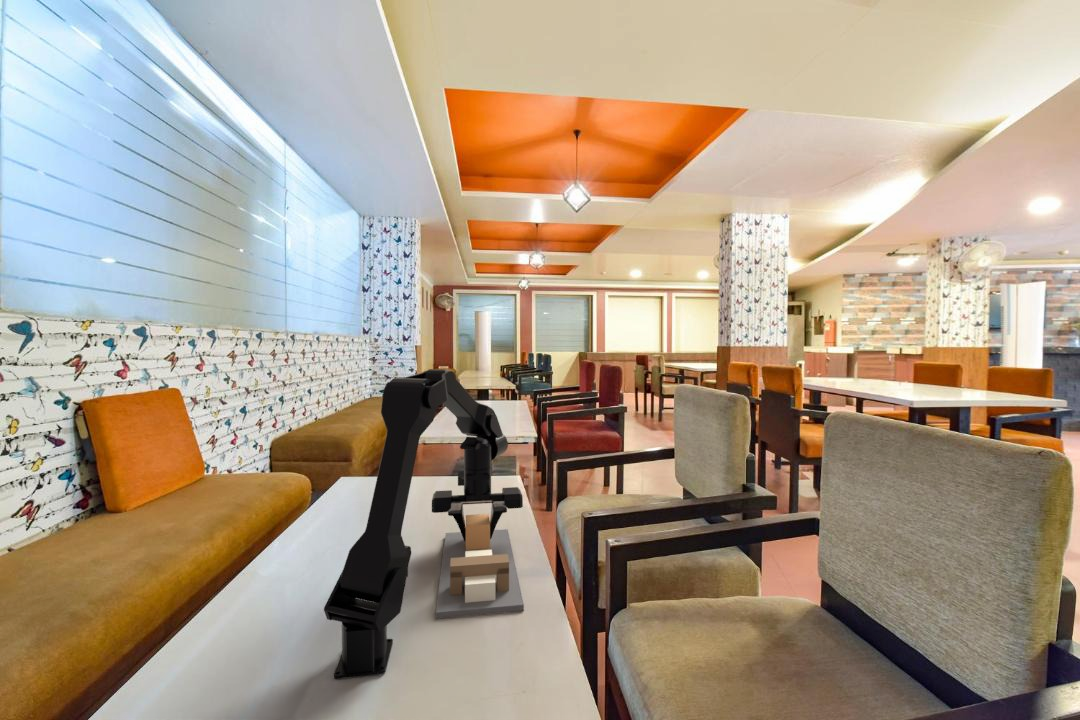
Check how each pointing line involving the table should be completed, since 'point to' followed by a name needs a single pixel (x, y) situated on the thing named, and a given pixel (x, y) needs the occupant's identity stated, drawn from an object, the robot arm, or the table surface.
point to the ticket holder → (478, 578)
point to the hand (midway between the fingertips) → (477, 539)
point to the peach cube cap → (477, 532)
